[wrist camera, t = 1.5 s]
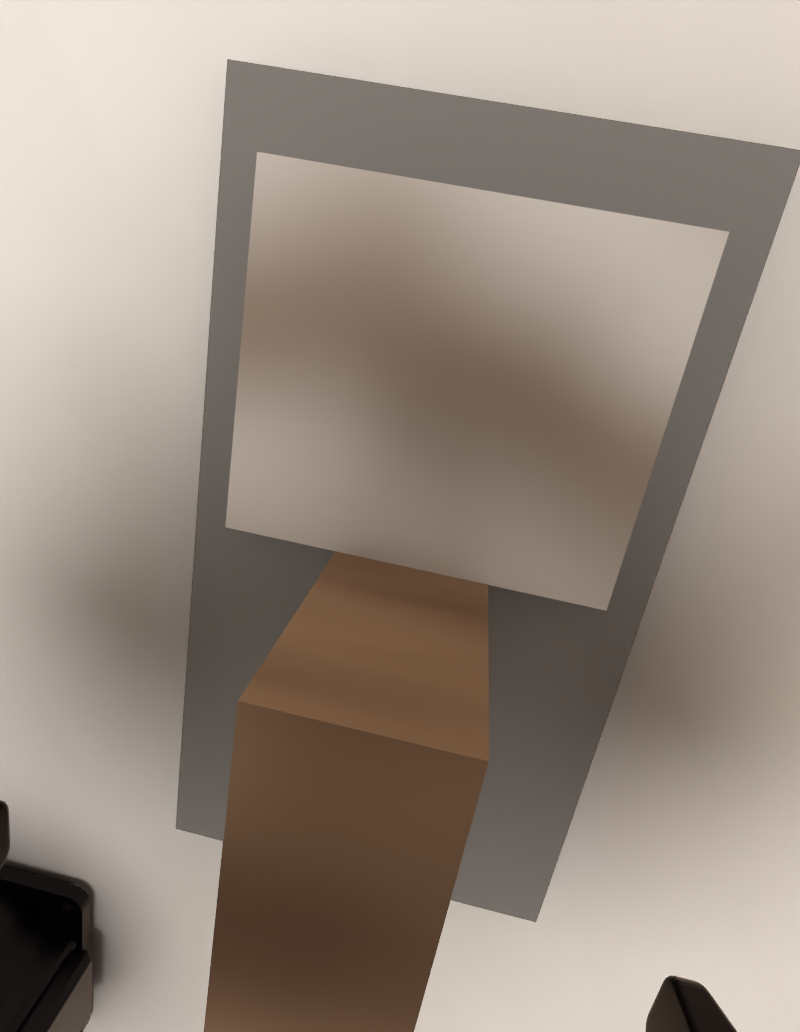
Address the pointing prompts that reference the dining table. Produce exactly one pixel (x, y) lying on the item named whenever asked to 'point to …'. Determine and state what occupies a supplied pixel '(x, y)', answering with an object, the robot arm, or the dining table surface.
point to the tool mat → (511, 614)
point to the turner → (416, 540)
